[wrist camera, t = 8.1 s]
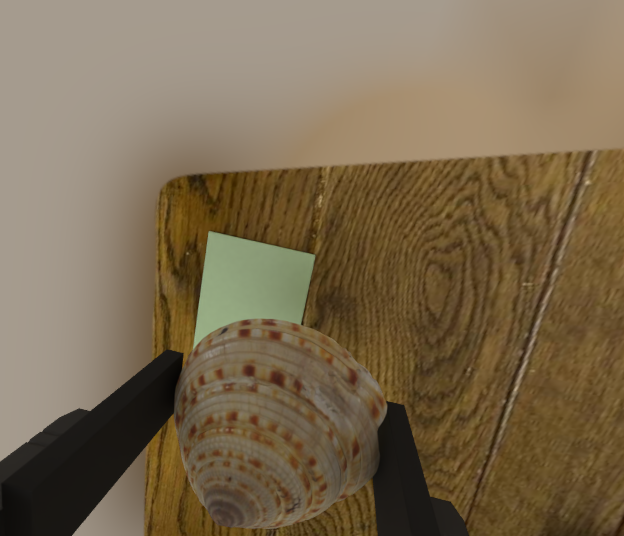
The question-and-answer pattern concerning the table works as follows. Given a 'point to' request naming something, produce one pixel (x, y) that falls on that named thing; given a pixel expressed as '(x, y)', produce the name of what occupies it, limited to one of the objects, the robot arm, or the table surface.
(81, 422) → the robot arm
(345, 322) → the table surface
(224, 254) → the pale green rectangular slab
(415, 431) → the table surface
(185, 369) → the seashell
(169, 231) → the table surface
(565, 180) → the table surface
